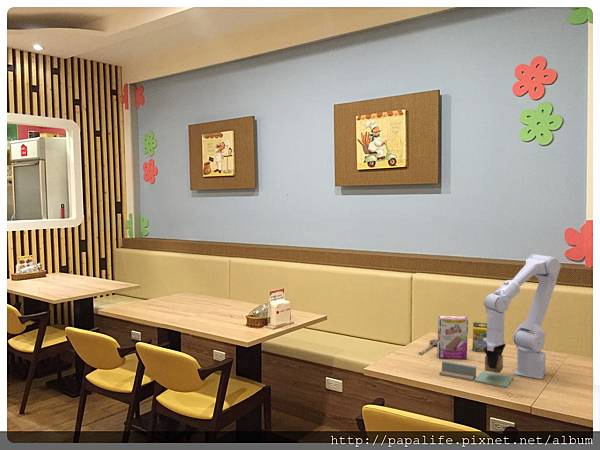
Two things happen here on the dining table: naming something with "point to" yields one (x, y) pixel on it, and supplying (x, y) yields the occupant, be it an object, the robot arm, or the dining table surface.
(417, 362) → the dining table surface
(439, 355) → the candy bar box
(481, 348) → the crayon box
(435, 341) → the soupspoon
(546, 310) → the robot arm
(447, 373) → the grey long block
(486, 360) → the lettered cube
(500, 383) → the mat
